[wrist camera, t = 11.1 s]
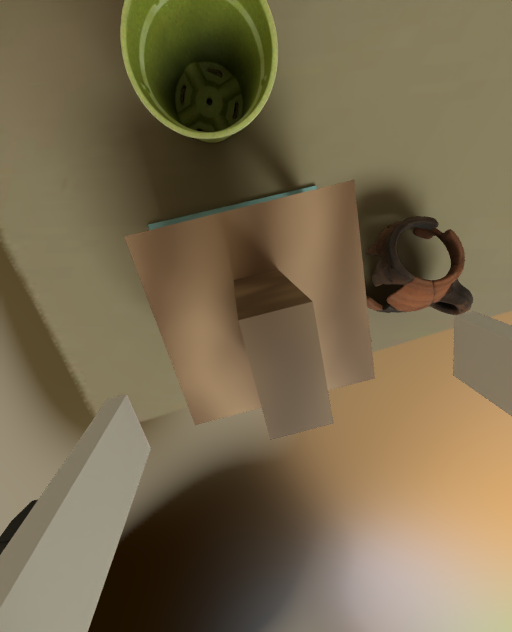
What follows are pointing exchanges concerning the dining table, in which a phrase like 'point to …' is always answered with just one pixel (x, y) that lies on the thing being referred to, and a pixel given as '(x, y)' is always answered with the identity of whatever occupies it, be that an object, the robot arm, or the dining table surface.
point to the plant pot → (200, 61)
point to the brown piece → (262, 306)
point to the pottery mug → (415, 290)
